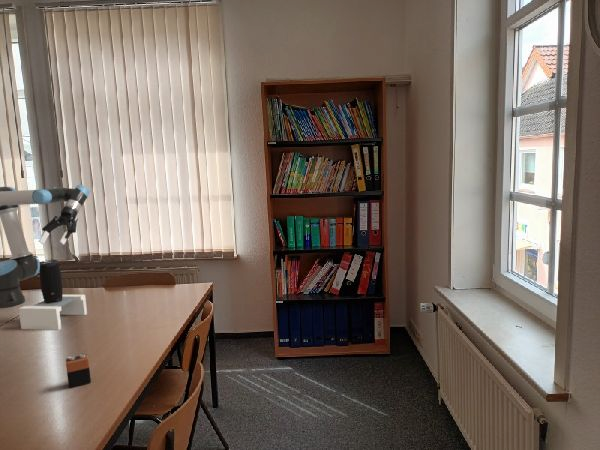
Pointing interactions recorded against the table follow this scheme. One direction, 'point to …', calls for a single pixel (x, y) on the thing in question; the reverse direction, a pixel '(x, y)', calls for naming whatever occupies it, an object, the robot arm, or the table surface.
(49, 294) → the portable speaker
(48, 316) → the square spool
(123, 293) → the table surface
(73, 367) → the battery
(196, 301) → the table surface
